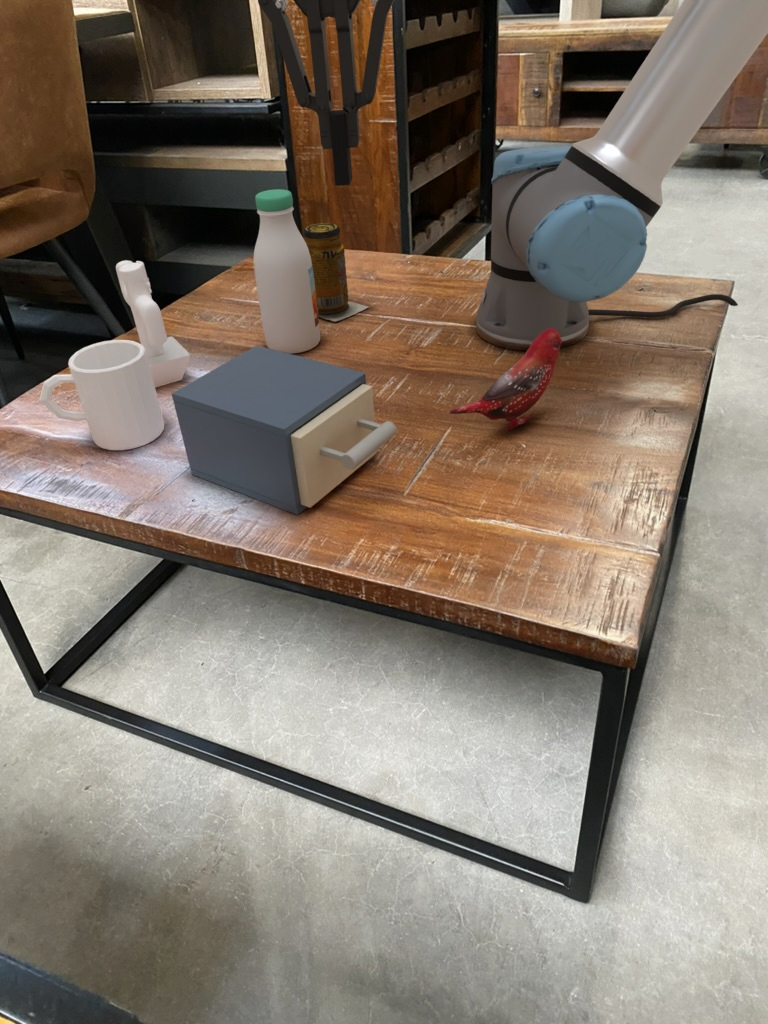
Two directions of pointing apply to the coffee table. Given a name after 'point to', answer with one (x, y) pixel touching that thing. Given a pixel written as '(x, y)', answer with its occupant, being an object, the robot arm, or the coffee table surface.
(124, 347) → the mug
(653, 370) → the coffee table surface
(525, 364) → the decorative bird figurine
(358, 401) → the drawer
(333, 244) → the condiment
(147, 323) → the figurine
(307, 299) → the milk bottle
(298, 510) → the cabinet
